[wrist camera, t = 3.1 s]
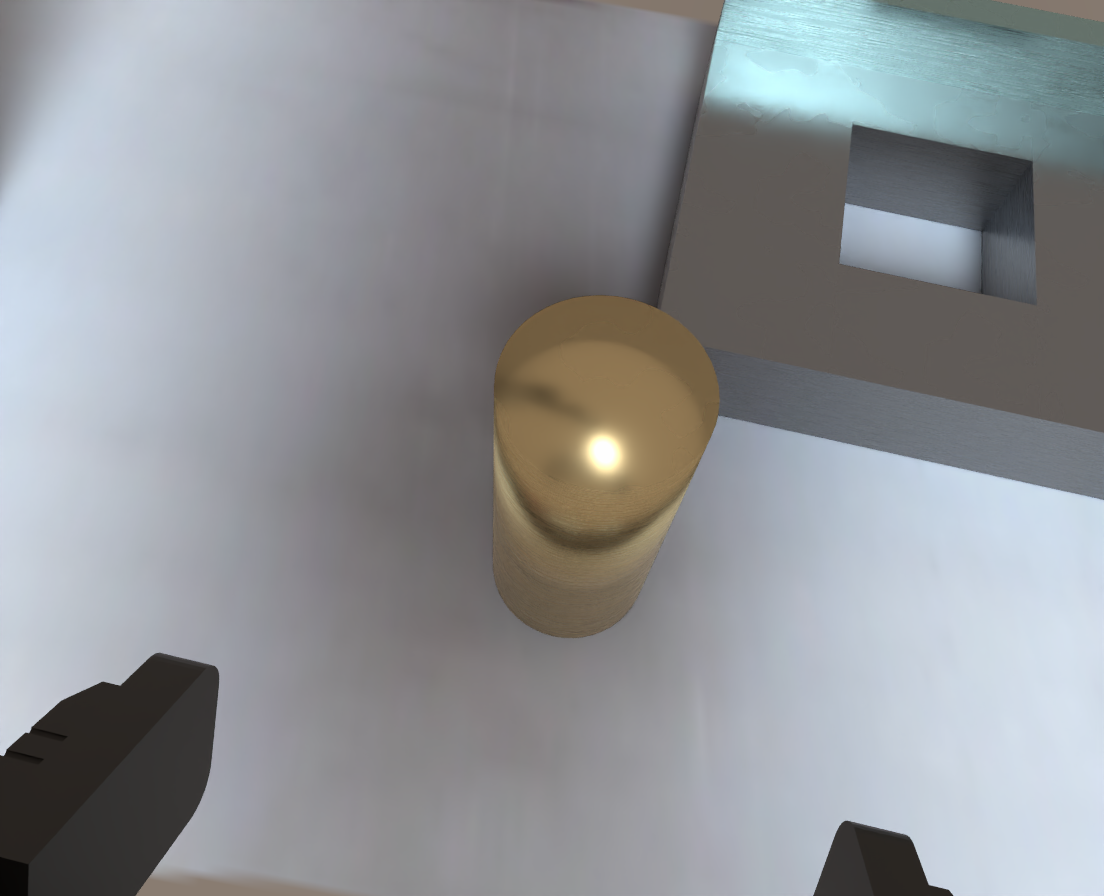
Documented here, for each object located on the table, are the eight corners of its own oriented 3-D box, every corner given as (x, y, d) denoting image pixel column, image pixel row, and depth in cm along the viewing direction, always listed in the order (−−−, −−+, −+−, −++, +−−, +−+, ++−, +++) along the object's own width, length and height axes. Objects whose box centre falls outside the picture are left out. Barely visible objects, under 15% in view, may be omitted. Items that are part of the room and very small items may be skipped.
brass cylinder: (476, 618, 26) (468, 461, 17) (512, 480, 28) (522, 275, 19) (629, 653, 26) (702, 513, 17) (655, 512, 28) (733, 320, 19)
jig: (638, 397, 30) (670, 282, 24) (700, 94, 36) (736, -50, 31) (1141, 507, 29) (1289, 414, 23) (1113, 178, 35) (1225, 46, 30)
